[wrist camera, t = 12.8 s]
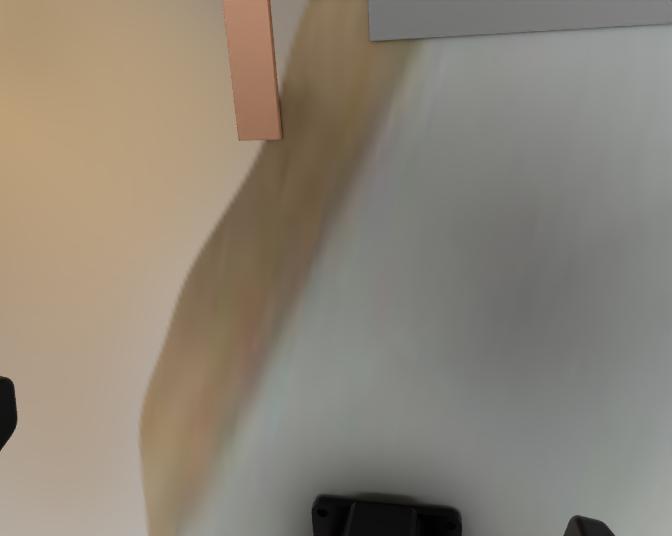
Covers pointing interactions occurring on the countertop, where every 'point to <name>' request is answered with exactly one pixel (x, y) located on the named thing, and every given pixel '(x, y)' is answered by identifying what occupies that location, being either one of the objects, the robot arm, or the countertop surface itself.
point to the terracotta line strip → (253, 69)
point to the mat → (506, 16)
